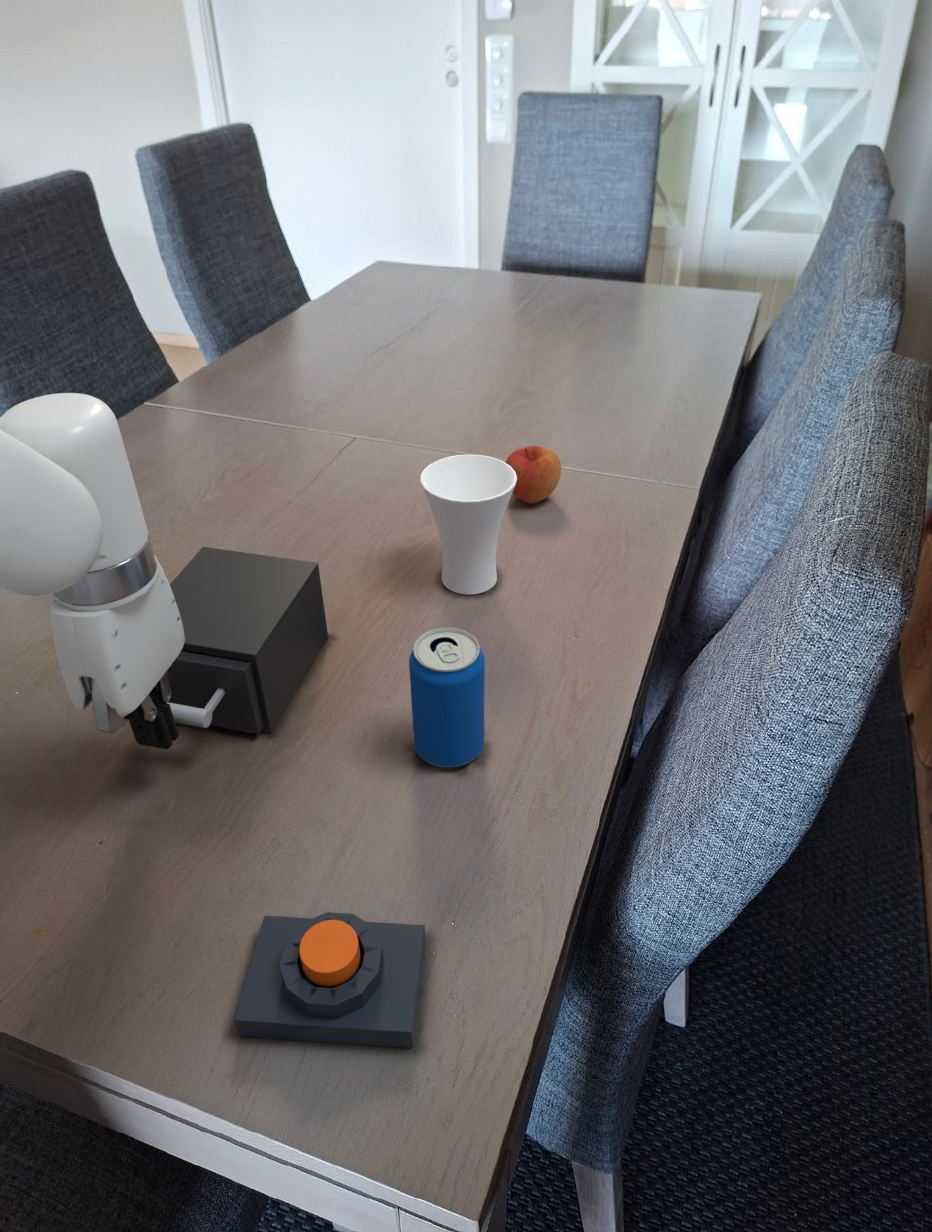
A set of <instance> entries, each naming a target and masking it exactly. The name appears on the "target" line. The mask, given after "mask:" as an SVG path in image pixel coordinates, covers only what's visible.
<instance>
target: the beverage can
mask: <svg viewBox="0 0 932 1232" xmlns="http://www.w3.org/2000/svg"><path fill="white" fill-rule="evenodd" d="M485 659H486V658H485V655H484V651H483V650H482V649H481V647H480V643H479V641H478V639H477V638H476V637H475V636H474V635H473V634H472V633H470V632H468V631H466V630H464V629H462V628H461V629H460V628H457V627H438V628H434V629H431V630H428V631H426V632H424V633H422V634H421V635H420V636H419V637H417V640H416V641H414V645H413V648H412V651H411V652H410V655H409V658H408V668H409V682H410V683H409V684H410V699H411V700H410V702H411V711H412V712H411V715H412V733H413V744H414V745H413V746H414V749H415V751H416V753H417V755H418V756H419V757H420V758H421V759H422V760H423V761H425V762H427V763H429V764H431V765H433V766H436V767H441V768H457V767H460V766H464V765H466V764H469V763H470V762H472V761H474V760H475V759H476V758H477V757H479V755H480V754H481V753H482V750H483V749H484V744H485V678H486V677H485V671H486V670H485V669H486V667H485V666H486V665H485V664H486V663H485V661H486V660H485Z"/></svg>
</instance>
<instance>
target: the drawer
mask: <svg viewBox="0 0 932 1232" xmlns="http://www.w3.org/2000/svg"><path fill="white" fill-rule="evenodd" d="M169 680H170V686H171V692H172V693H171V698H170V700H169V701H168V702H167V703H168V704H170V707H171V710H172V714H173V717H174V720H175V724H180V725H187V726H193V727H198V728H202V729H203V728H204V729H208V728H209V727H210V726H213V727H218V728H223V729H229V730H234V731H240V732H245V733H251V734H256V735H259V734H260V733H261V732H260V731H261V729H262V728H263V726H264V724H263V720H262V715H261V710H260V706H259V701H258V696H257V691H256V687H255V682H254V677H253V673H252V668H251V663H249V662H248V661H244V660H238V659H232V658H226V657H220V656H215V655H209V654H203V653H197V652H191V651H185V650H181V652H180V654H179V655H178V656H177V658H176V659H175V661H174V662H173V663H172V665H171V671H170V674H169Z"/></svg>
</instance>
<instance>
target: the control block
mask: <svg viewBox="0 0 932 1232" xmlns="http://www.w3.org/2000/svg"><path fill="white" fill-rule="evenodd" d="M326 920H339V921H342V922H345V923H347V924H348V925H349V926H351V927H352V928H353V929H354V931H355V932H356V934H357V937H358V942H359V949H360V962H359V966H358V968H357V970H356V971H355V973H354V974H353V975H352V976H351V977H350V978H349V979H348V980H346V981H345V982H343V983H341V984H338V985H335V986H321V985H318V984H315V983H314V982H312V981H311V980H309V979H308V977H307V976H306V975H305V973H304V970H303V967H302V962H301V958H300V953H299V948H300V943H301V940H302V938H303V936H304V935H305V933H306V932H307V931H308V930H309V929H310V928H311V927H312V926H314V925H316V924H318V923H320V922H322V921H326ZM425 926H426V925H424V924H411V923H394V922H377V921H365V920H364V919H362V918H360V917H359V916H358V915H356V914H354V913H345V912H332V911H331V912H325V913H322V914H319V915H316V916H315V917H295V916H278V915H263V919H262V922H261V925H260V929H259V933H258V936H257V940H256V943H255V946H254V950H253V954H252V957H251V959H250V960H251V961H250V964H249V968H248V970H247V974H246V977H245V980H244V981H245V982H244V985H243V988H242V991H241V995H240V999H239V1002H238V1005H237V1009H236V1013H235V1016H234V1018H233V1022H234V1024H235V1027H236V1030H237V1033H238V1035H239V1037H246V1038H248V1037H249V1038H261V1039H276V1040H290V1041H304V1042H318V1043H319V1042H320V1043H331V1044H345V1045H360V1046H362V1045H363V1046H374V1047H375V1046H377V1047H389V1048H390V1047H391V1048H404V1049H413V1048H414V1042H415V1034H416V1024H417V1016H418V1008H419V1001H420V992H421V984H422V977H423V976H422V974H423V967H424V960H425V952H426V951H425V950H426V942H427V941H426V928H425Z"/></svg>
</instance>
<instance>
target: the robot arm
mask: <svg viewBox="0 0 932 1232" xmlns="http://www.w3.org/2000/svg"><path fill="white" fill-rule="evenodd" d="M108 405H109V404H107V403H105V402H104V401H103V400H101V399H99V398H98V397H94V396H93V395H89V394H86V393H80V392H79V393H78V392H58V393H50V394H44V395H40V396H35V397H33V398H30V399H27V400H25V401H21V402H20V403H18V404H17V403H16V404H15V405H13V406H12V407H10V408H9V409H8V410H7V411H6V412H5V413H3V414H2V415H1V416H0V588H1V589H4V590H5V591H6V590H7V591H9V592H12V593H16V594H17V595H22V596H23V595H24V596H38V597H39V596H45V595H52V596H53V598H54V599H53V600H52V601H51V602H50V604H49V607H48V609H49V622H50V630H51V636H52V640H53V641H52V642H53V644H54V645H53V646H54V650H55V654H56V658H57V662H58V666H59V669H60V673H61V676H62V680H63V683H64V685H65V688H66V691H67V693H68V696H69V699H70V701H71V704H72V705H73V707H74V708H75V709H77V710H81V711H85V710H86V709H87V708H88V706H89V705H90V704H91V703H92V709H93V716H94V721H95V722H94V723H95V729H96V731H98V732H102V733H108V734H115V733H116V732H118V731H119V729H121V728H122V727H123V726H124V725H126V723H127V721H128V722H129V725H130V729H131V731H132V735H133V737H134V739H135V742H136V743H137V744H138V745H142V746H144V747H148V748H156V749H161V750H162V749H163V750H170V749H171V747H172V746H173V742H174V741H176V740H177V738H178V737H179V731H178V727H177V723H176V722H175V720H174V717H173V714H172V710H171V707H170V704H168V703H167V702H168V701H169V700H170V698H171V693H172V692H171V686H170V680H169V674H170V671H171V665H172V663H173V662H174V661H175V659H176V658H177V656H178V655H179V654H180V652H181V650H182V648H183V646H184V642H185V637H184V630H183V624H182V620H181V617H180V613H179V610H178V607H177V604H176V601H175V598H174V595H173V592H172V590H171V587H170V582H169V580H168V577H167V576H166V573H165V571H164V569H163V567H162V565H161V563H160V561H159V559H158V558H157V556H156V555H155V552H154V549H153V546H152V541H151V538H150V533H149V531H148V527H147V523H146V520H145V516H144V512H143V509H142V504H141V501H140V497H139V494H138V490H137V487H136V483H135V479H134V476H133V473H132V469H131V468H132V467H131V465H130V461H129V459H128V453H127V451H126V448H125V447H126V446H125V444H124V439H123V437H122V433H121V429H120V426H119V422H118V421H117V417H116V415H115V413H114V412H113V410H112V409H111V408H110V407H109V406H108Z"/></svg>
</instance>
